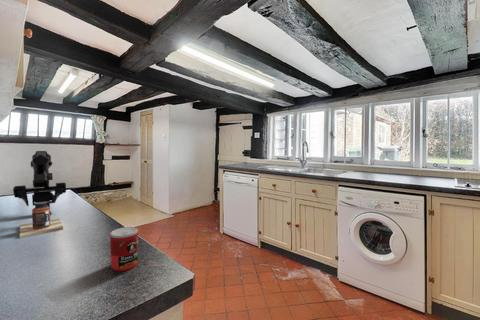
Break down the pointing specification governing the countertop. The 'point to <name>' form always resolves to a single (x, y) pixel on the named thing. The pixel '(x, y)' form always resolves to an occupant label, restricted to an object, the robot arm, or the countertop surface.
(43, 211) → the supplement bottle
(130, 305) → the countertop surface
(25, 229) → the birch board
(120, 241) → the canned food
